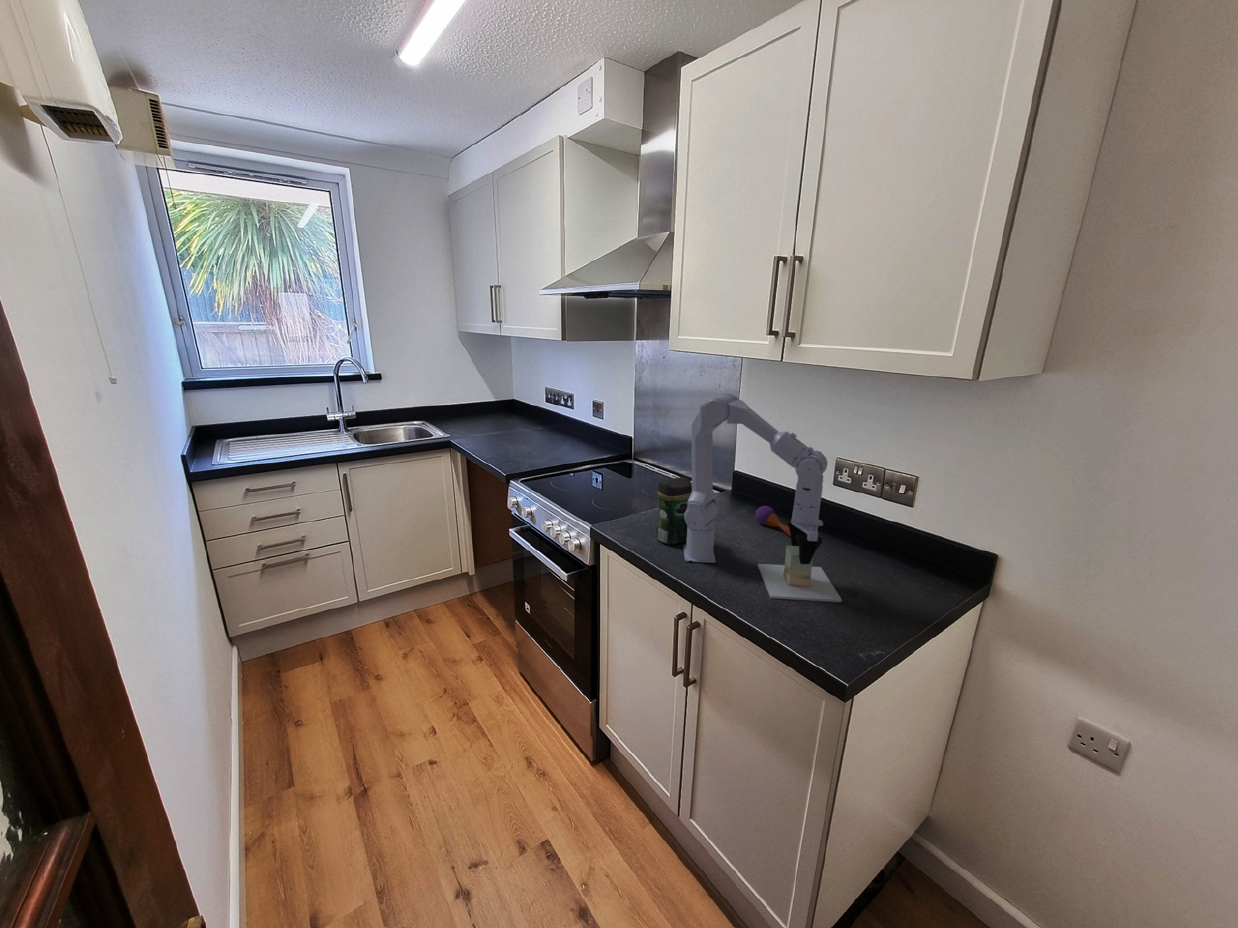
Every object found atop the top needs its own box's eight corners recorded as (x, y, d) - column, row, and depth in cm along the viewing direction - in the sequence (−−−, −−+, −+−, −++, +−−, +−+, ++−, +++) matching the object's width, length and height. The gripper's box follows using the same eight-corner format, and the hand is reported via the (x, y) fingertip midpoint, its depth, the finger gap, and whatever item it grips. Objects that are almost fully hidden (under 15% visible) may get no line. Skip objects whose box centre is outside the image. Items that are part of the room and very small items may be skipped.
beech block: (783, 575, 127) (785, 560, 126) (803, 576, 127) (805, 561, 125) (788, 585, 122) (790, 570, 121) (809, 586, 122) (811, 571, 121)
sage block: (784, 560, 126) (786, 545, 125) (805, 561, 125) (807, 546, 124) (789, 570, 121) (791, 554, 120) (811, 571, 121) (813, 555, 120)
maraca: (795, 535, 143) (751, 506, 160) (795, 552, 145) (751, 522, 162) (812, 528, 145) (766, 500, 162) (811, 545, 147) (766, 516, 164)
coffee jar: (677, 531, 153) (680, 472, 148) (694, 541, 147) (698, 480, 142) (651, 537, 149) (653, 477, 143) (666, 548, 142) (669, 485, 137)
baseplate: (757, 565, 133) (758, 563, 133) (820, 569, 132) (820, 567, 131) (770, 598, 117) (770, 595, 117) (841, 602, 116) (841, 599, 116)
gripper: (834, 515, 111) (826, 571, 115) (815, 493, 125) (809, 544, 129) (802, 514, 112) (795, 569, 116) (786, 492, 126) (780, 542, 130)
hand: (800, 556), depth 122 cm, fingers open, 7 cm apart
